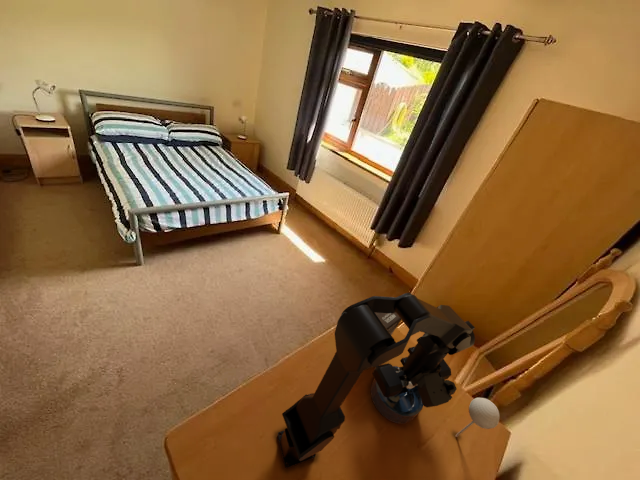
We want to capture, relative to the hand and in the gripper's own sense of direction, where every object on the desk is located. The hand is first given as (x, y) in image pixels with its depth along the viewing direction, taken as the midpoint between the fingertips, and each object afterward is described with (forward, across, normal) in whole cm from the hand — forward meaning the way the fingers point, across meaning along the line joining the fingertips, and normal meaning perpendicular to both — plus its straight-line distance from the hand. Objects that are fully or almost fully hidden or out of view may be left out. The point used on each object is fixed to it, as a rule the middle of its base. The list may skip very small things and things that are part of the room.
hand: (398, 390), depth 75 cm
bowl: (+4, 0, 0) cm, 4 cm away
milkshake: (+3, 0, 0) cm, 3 cm away
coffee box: (+4, -1, +14) cm, 15 cm away
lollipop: (+4, +11, -12) cm, 17 cm away
